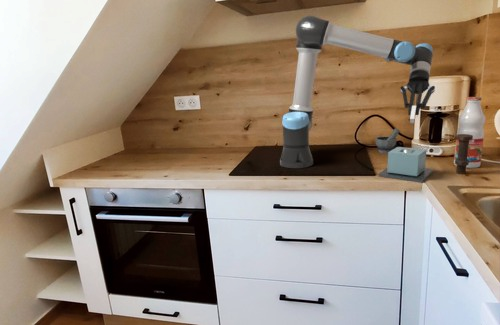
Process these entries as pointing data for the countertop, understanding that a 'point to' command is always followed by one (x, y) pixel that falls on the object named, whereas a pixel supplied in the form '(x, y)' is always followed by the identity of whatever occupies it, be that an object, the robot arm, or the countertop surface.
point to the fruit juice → (472, 131)
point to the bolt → (462, 153)
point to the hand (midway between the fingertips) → (412, 120)
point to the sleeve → (406, 161)
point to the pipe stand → (419, 178)
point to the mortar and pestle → (387, 142)
